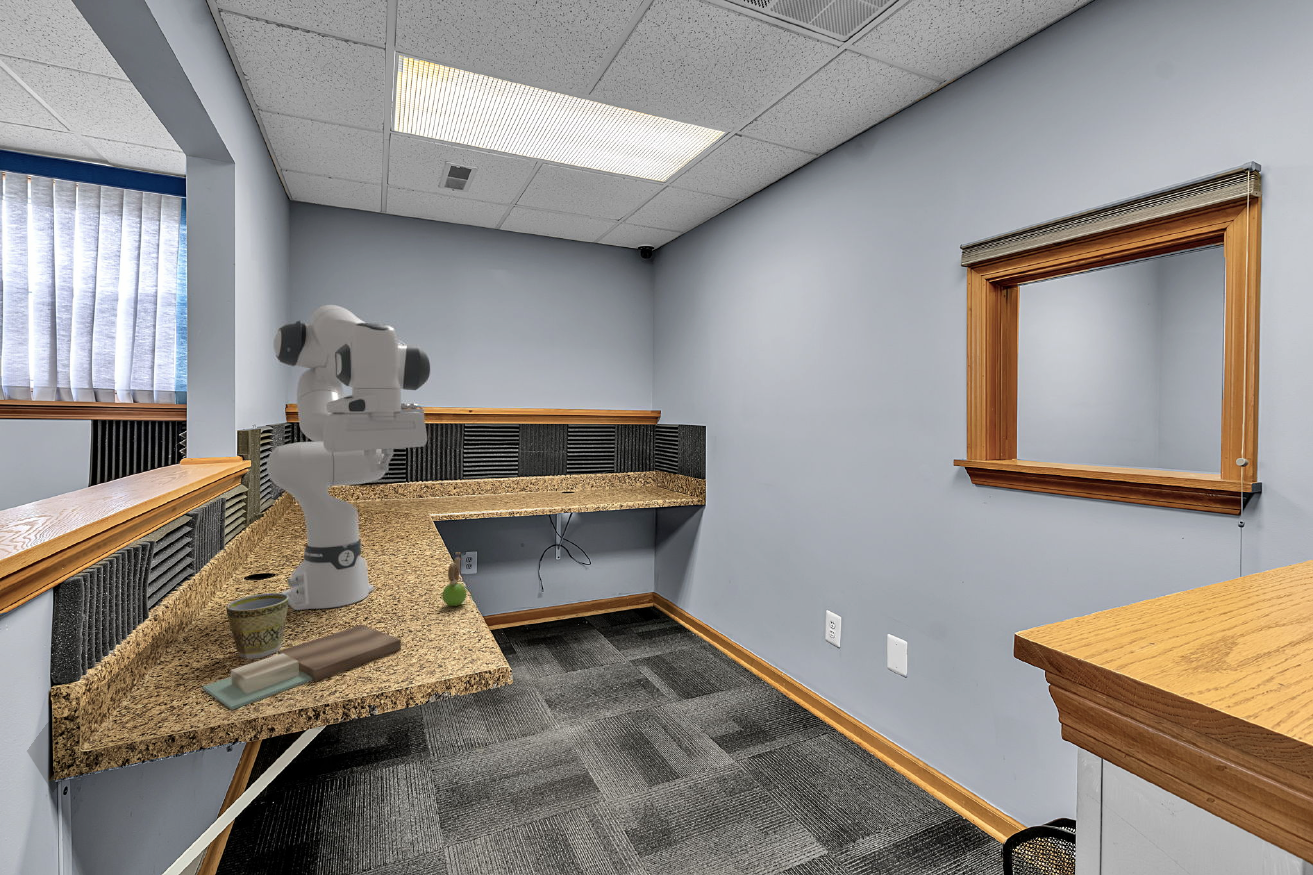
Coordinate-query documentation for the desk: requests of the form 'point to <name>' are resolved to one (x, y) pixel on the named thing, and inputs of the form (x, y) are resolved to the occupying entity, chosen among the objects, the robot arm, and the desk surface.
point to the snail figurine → (454, 585)
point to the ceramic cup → (258, 623)
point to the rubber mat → (238, 698)
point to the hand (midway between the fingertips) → (379, 471)
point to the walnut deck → (341, 651)
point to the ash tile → (264, 673)
